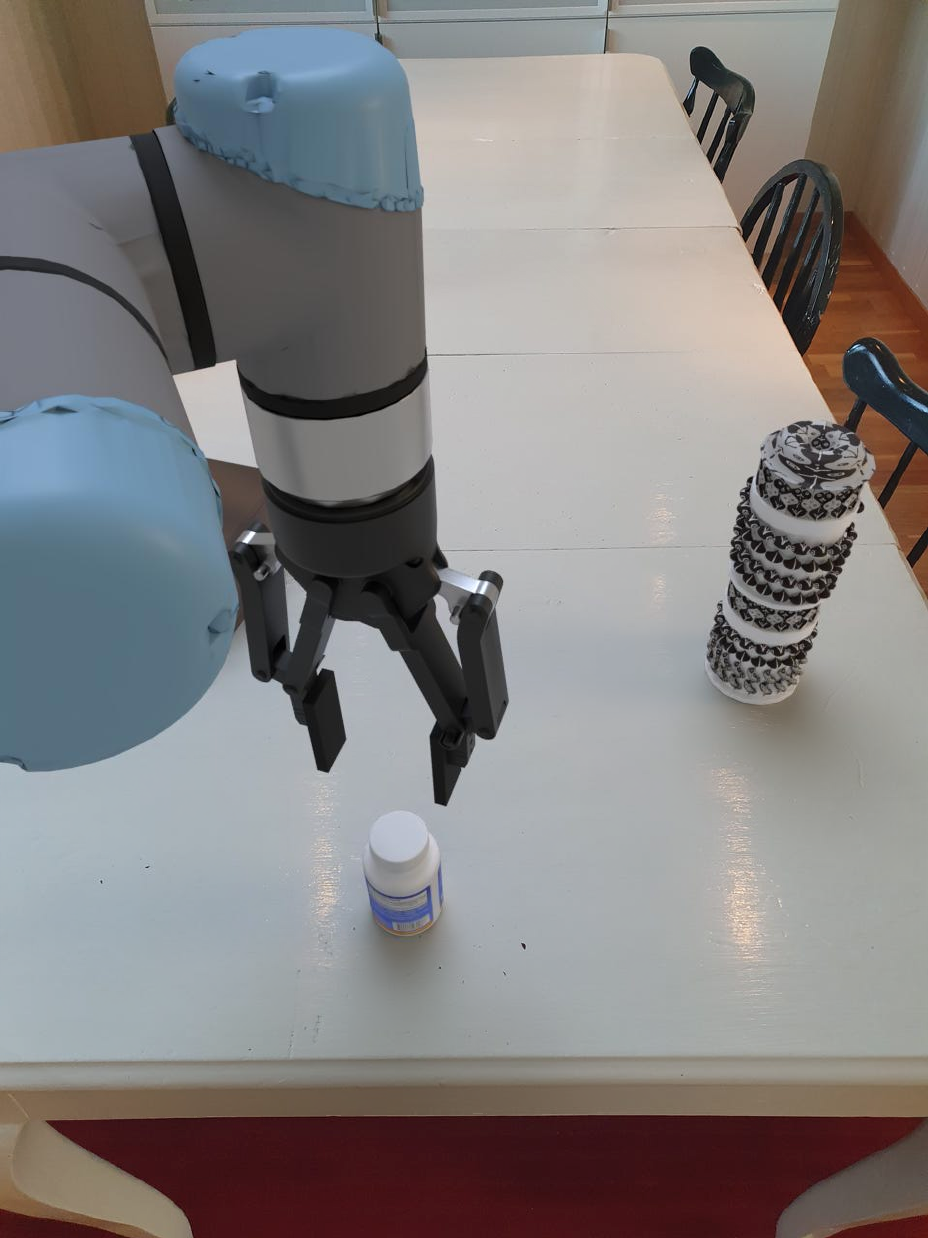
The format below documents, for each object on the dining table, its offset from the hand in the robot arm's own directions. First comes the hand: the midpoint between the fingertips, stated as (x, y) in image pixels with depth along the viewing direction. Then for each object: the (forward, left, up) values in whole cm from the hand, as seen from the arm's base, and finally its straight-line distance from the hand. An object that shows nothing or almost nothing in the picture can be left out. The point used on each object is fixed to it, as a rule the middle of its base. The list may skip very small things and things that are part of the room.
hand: (389, 770), depth 55 cm
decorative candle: (+37, +9, -17) cm, 42 cm away
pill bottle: (0, 0, -17) cm, 17 cm away
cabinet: (-6, +42, -17) cm, 46 cm away
